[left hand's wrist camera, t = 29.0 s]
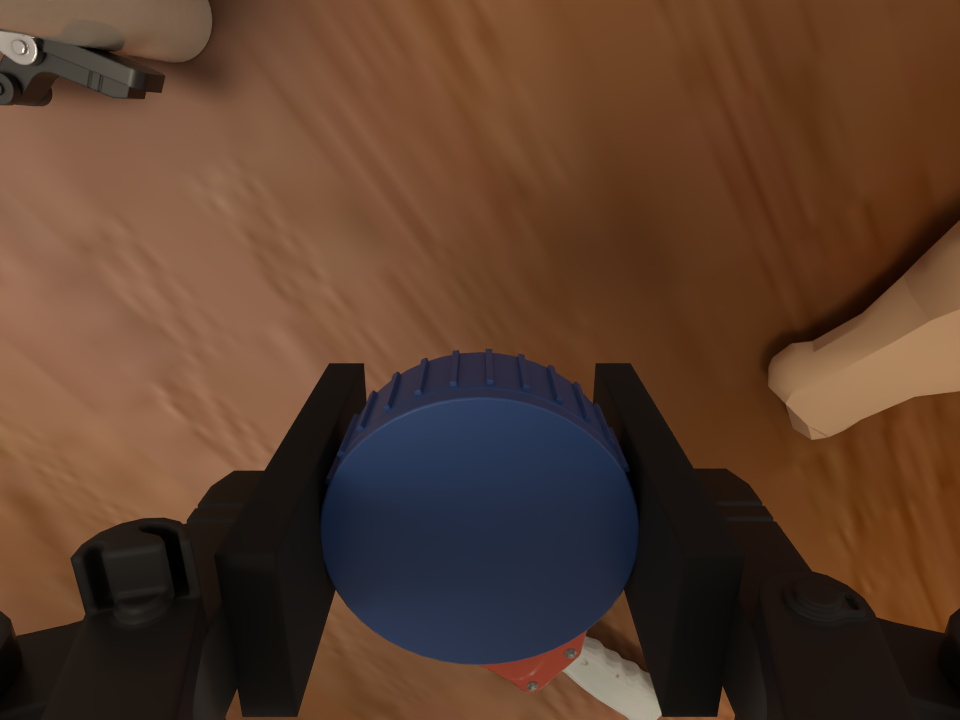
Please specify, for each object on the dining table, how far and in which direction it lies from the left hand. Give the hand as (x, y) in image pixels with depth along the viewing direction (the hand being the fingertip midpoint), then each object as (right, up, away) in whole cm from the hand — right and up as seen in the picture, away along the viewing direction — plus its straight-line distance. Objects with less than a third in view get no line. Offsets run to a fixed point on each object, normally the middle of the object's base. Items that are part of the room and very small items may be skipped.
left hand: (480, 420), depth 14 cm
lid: (0, -1, -4) cm, 4 cm away
